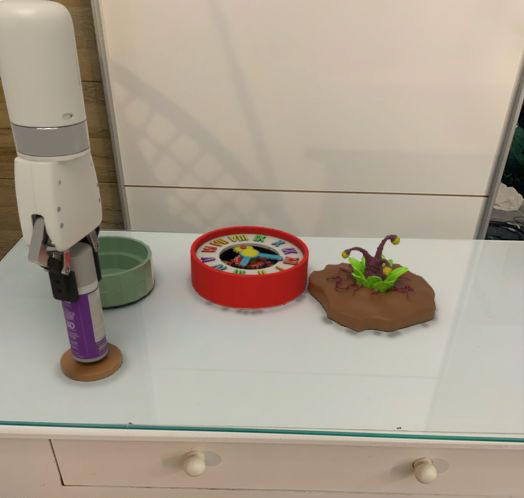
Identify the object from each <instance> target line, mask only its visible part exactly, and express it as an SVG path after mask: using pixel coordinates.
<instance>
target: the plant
mask: <svg viewBox="0 0 524 498" xmlns="http://www.w3.org/2000/svg"><path fill="white" fill-rule="evenodd" d="M387 241H390V244H392V245H394V246H397V245H399V244H400V243H401V238H400V237H399V236H398V235H397V234H389V235H386V236H385V237H384V238H383V239H381V242H380V243H379V244H378V246H377V247H376V251H375V254H374V256H372V255H371V254H370V253H369V252H368V250H366V248H363V247H360V246H353V247H350V248H347V249H344V250H343V251H342V252H341V257H342V258H343V259H344V260H345V259H347V260H348V262H349V263H347V262H340V263H338V264H337V263H336V264H333V263H332V264H331V263H329V264H326V265H325V267H324V268H323V269H319V270H313V271H312V272H311V273H310V274H309V276H308V285H307V289H308V292H309V293H310V295H311V296H312V297H313V298H315V299H316V300H317V301H318V302H319V303H320V304H321V306H322V307H323V309H324V310H325V312H326V316H327V318H329V319H330V320H332V321H334V322H335V323H337V324H339V325H341V326H343V327H347V328H350V329H352V330H354V331H355V332H362V331H366V330H378V331H383V332H393V331H397V330H399V329H403V328H406V327H409V326H412V325H413V326H414V325H416V324H420V323H425V322H428V321H432V320H433V319H434V316H435V313H436V309H437V306H436V301H435V298H436V293H435V290H434V288H433V287H432V286H431V285H430V284H429V283H428V281H427V280H426V279H425V278H424V277H423V276H421V275H419V274H416V273H413V272H411V271H410V270H409V267H406V266H403V265H401V264H400V263H394V260H393V259H392V258H390V259H387V257H386V256H385V255H384V254H383V251H384V247H385V246H386V243H387ZM352 251H356V252H359V253H361V254H362V256H361V261H360V260H359V259H356V258H355V257H350V256H351V252H352Z"/></svg>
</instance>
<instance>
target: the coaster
mask: <svg viewBox="0 0 524 498" xmlns="http://www.w3.org/2000/svg"><path fill="white" fill-rule="evenodd" d="M107 347H108V353H107V354H106V356H105V357H103V358H102V359H100V360H97V361H94V362H80V361H77V360H75V359H74V358H73V356H72V352H71V347H69V348H68V349H67V350H65V352H63V354H62V355H61V357H60V359H59V365H60V370H61V371H62V373H63V374H64V375H65V376H66V377H67V378H69V379H71V380H74V381H78V382H93V381H99V380H101V379H102V380H103V379H105V378H107V377H110V376H111V375H113V374H115V373H116V372H117V371H118V370H119V369H120V367H121V365H122V363H123V356H122V352H121V350H120V348H119V347H118V346H116V345H115V344H114V343H111V342H108V341H107Z"/></svg>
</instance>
